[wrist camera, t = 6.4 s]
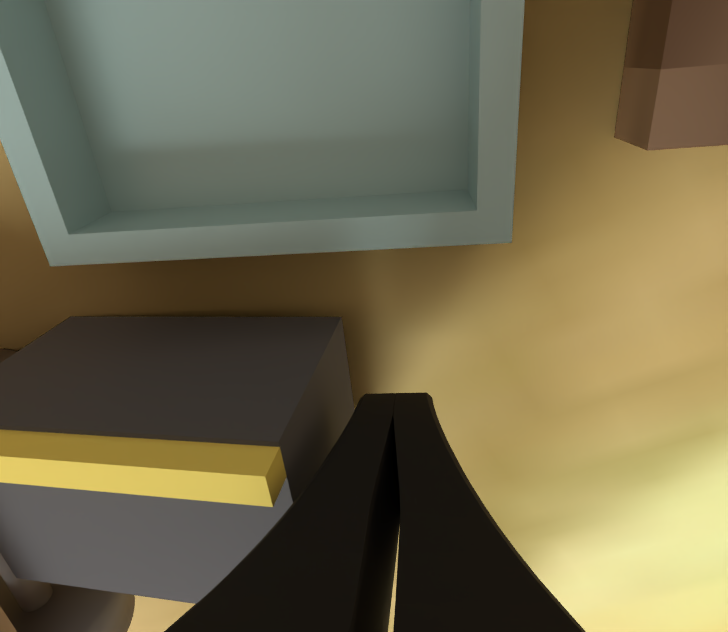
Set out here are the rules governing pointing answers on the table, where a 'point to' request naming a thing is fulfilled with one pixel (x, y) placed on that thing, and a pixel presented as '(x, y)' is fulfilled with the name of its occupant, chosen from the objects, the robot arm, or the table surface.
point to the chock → (162, 445)
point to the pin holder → (675, 75)
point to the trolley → (58, 601)
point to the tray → (260, 125)
